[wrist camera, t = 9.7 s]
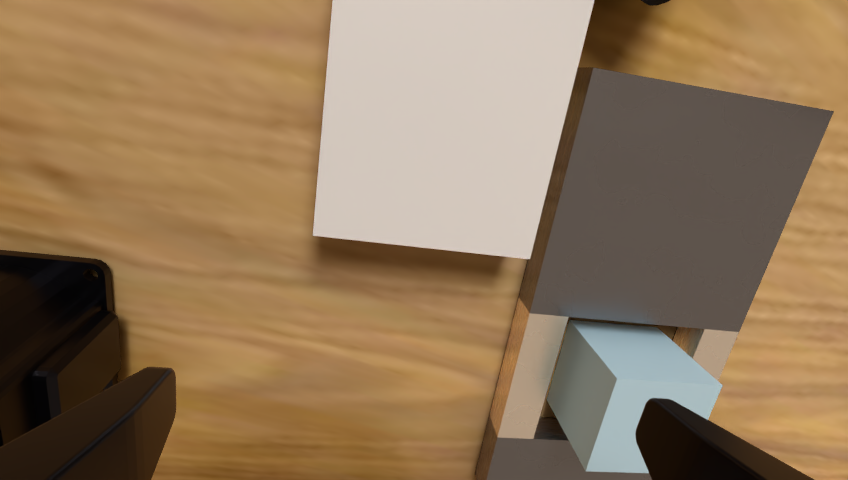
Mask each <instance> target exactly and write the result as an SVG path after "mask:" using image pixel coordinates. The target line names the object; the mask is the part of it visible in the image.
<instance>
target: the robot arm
mask: <svg viewBox="0 0 848 480" xmlns="http://www.w3.org/2000/svg"><path fill="white" fill-rule="evenodd" d="M89 269H93V270H95V271H96V272H97V274H98V277H96V276H93V275H92V274H91V273H90V271H89ZM120 368H121V356H120V340H119V324H118V316H117V315H116V314H115V312H114V311H113V304H112V289H111V274H110V269H109V267H108V266H107V264H106V263H104V262H103V261H101V260H98V259H91V258H80V257H70V256H59V255H49V254H38V253H27V252H17V251H6V250H0V480H151V478H152V476H153V473H154V471H155V468H156V465H157V463H158V460H159V458H160V455H161V452H162V450H163V447H164V445H165V442H166V440H167V437H168V434H169V432H170V429H171V427H172V424H173V421H174V418H175V413H176V376H175V372H174V370H173V369H172V368H163V367H147V368H145V369H143V370H141V371H139V372H137V373H135V374H133V375H132V376H130V377H128V378H126V379H124V380H122V381H121V382H119V383H118V380H117V372H118V371H119V370H120ZM102 390H104V391H102ZM101 391H102V392H101ZM635 436H636V442H637V445H638V448H639V450H640V452H641V455H642V457H643V460H644V462H645V464H646V467H647V469H648V472H649V474H650V477H651V479H652V480H814V479H812V478H810V477H809V476H807V475H805V474H803V473H801V472H800V471H798V470H796V469H794V468H793V467H791V466H789V465H787V464H785V463H784V462H782V461H780V460H778V459H777V458H775V457H773V456H771V455H769V454H768V453H766V452H764V451H762V450H760V449H759V448H757V447H755V446H753V445H752V444H750V443H748V442H746V441H744V440H743V439H741V438H739V437H737V436H736V435H734V434H732V433H730V432H728V431H727V430H725V429H723V428H721V427H719V426H718V425H716V424H714V423H712V422H711V421H709V420H707V419H705V418H703V417H702V416H700V415H698V414H696V413H695V412H693V411H691V410H689V409H687V408H686V407H684V406H682V405H680V404H678V403H677V402H675V401H673V400H671V399H663V398H651V399H649V400H648V401H647V402H646V404H645V407H644V409H643V412H642V415H641V417H640V420H639V423H638V425H637V428H636V433H635Z"/></svg>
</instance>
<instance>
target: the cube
mask: <svg viewBox="0 0 848 480" xmlns="http://www.w3.org/2000/svg"><path fill="white" fill-rule="evenodd" d="M722 386H723V385H722V384H720V383H719V382H718V381H717V380H716V379H715V378H714V377H713V376H711V375H710V374H709V373H708V372H707V371H706V370H705V369H704V368H702V367H701V366H700V365H699V364H698V363H697V362H696V361H695V360H693V359H692V358H691V357H690V356H689V355H688V354H687V353H686V352H684V351H683V350H682V349H681V348H680V347H679V346H678V345H676V344H675V343H674V342H673V341H672V340H671V339H670V338H669V337H667V336H666V335H665V334H664V333H663V332H662V331H661V330H660V329H658V328H657V327H648V326H637V325H625V324H613V323H601V322H589V321H578V320H569V323H568V327H567V330H566V334H565V337H564V341H563V344H562V348H561V351H560V355H559V358H558V362H557V365H556V369H555V372H554V376H553V379H552V382H551V386H550V389H549V393H548V396H547V401H548V403H549V405H550V407H551V409H552V411H553V412H554V414H555V416H556V418H557V420H558V422H559V423H560V425H561V427H562V429H563V431H564V433H565V434H566V436H567V438H568V440H569V442H570V444H571V445H572V447H573V449H574V451H575V453H576V455H577V457H578V458H579V460H580V462H581V464H582V466H583V468H584V469H585V471H591V472H625V473H649V472H648V469H647V467H646V464H645V462H644V460H643V457H642V455H641V452H640V450H639V448H638V445H637V442H636V436H635V433H636V428H637V425H638V423H639V420H640V417H641V415H642V412H643V409H644V407H645V404H646V402H647V401H648V400H649V399H651V398H663V399H671V400H673V401H675V402H677V403H678V404H680V405H682V406H684V407H686V408H687V409H689V410H691V411H693V412H695V413H696V414H698V415H700V416H702V417H703V418H705V419H707V420H708V418H709V416H710V413H711V411H712V409H713V406H714V404H715V402H716V400H717V397H718V395H719V393H720V390H721V388H722Z"/></svg>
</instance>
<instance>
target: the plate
mask: <svg viewBox="0 0 848 480" xmlns="http://www.w3.org/2000/svg"><path fill="white" fill-rule="evenodd" d="M833 112H834V111H829V110H823V109H818V108H812V107H807V106H801V105H796V104H790V103H785V102H779V101H774V100H768V99H763V98H758V97H752V96H747V95H741V94H736V93H730V92H725V91H719V90H714V89H708V88H703V87H697V86H692V85H686V84H681V83H675V82H670V81H664V80H659V79H653V78H648V77H642V76H637V75H631V74H626V73H620V72H615V71H609V70H604V69H598V68H577V72H576V77H575V81H574V85H573V89H572V93H571V97H570V101H569V105H568V109H567V113H566V117H565V121H564V125H563V129H562V133H561V137H560V141H559V145H558V149H557V153H556V157H555V161H554V165H553V169H552V173H551V177H550V181H549V185H548V189H547V193H546V197H545V201H544V205H543V209H542V213H541V217H540V221H539V225H538V229H537V233H536V237H535V241H534V245H533V249H532V253H531V257H530V259H528V262H527V266H526V270H525V274H524V278H523V282H522V286H521V290H520V294H519V298H518V302H517V306H516V310H515V314H514V318H513V323H512V327H511V331H510V335H509V339H508V343H507V347H506V351H505V355H504V359H503V363H502V367H501V371H500V375H499V379H498V383H497V387H496V391H495V395H494V399H493V403H492V407H491V411H490V415H489V419H488V423H487V427H486V431H485V435H484V440H483V444H482V448H481V452H480V456H479V460H478V464H477V468H476V472H475V476H476V479H477V480H652V479H651V477H650V474H649V473H625V472H591V471H585V469H584V468H583V466H582V464H581V462H580V460H579V458H578V457H577V455H576V453H575V451H574V449H573V447H572V445H571V444H570V442H569V440H568V438H567V436H566V434H565V433H564V431H563V429H562V427H561V425H560V423H559V422H558V420H557V419H556V418H539V417H540V414H541V410H542V407H543V404H544V400H545V397H546V393H547V390H548V386H549V383H550V380H551V376H552V373H553V369H554V366H555V362H556V359H557V355H558V352H559V349H560V345H561V342H562V338H563V335H564V331H565V328H566V325H567V321H568V318H569V317H576V318H587V319H598V320H609V321H621V322H632V323H643V324H654V325H665V326H676V327H678V328H677V331H676V333H675V336H674V339H673V342H674V343H675V344H676V345H678V346H679V347H680V348H681V349H682V350H683V351H684V352H686V353H687V354H688V355H689V356H690V357H691V358H692V359H693V360H695V361H696V362H697V363H698V364H699V365H700V366H701V367H702V368H704V369H705V370H706V371H707V372H708V373H709V374H710V375H711V376H713V377H714V378H715V379H716V380H717V381H718V380H719V377H720V375H721V373H722V370H723V368H724V366H725V363H726V361H727V359H728V356H729V354H730V352H731V349H732V347H733V345H734V342H735V340H736V338H737V335H738V333H739V331H740V329H741V326H742V324H743V322H744V319H745V317H746V315H747V312H748V310H749V308H750V305H751V303H752V301H753V298H754V296H755V294H756V291H757V289H758V287H759V284H760V282H761V280H762V277H763V275H764V273H765V270H766V268H767V266H768V263H769V261H770V259H771V256H772V254H773V252H774V249H775V247H776V245H777V242H778V240H779V238H780V235H781V233H782V231H783V228H784V226H785V224H786V221H787V219H788V217H789V214H790V212H791V210H792V207H793V205H794V203H795V200H796V198H797V196H798V193H799V191H800V189H801V186H802V184H803V182H804V179H805V177H806V175H807V173H808V170H809V168H810V166H811V163H812V161H813V159H814V156H815V154H816V152H817V149H818V147H819V145H820V142H821V140H822V138H823V135H824V133H825V131H826V128H827V126H828V124H829V121H830V119H831V117H832V114H833Z"/></svg>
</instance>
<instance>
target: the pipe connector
mask: <svg viewBox="0 0 848 480" xmlns="http://www.w3.org/2000/svg"><path fill="white" fill-rule="evenodd" d="M641 1H643V2H644V3H646V4H648V5H659V4H663V3H666V2H668V1H670V0H641Z"/></svg>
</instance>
